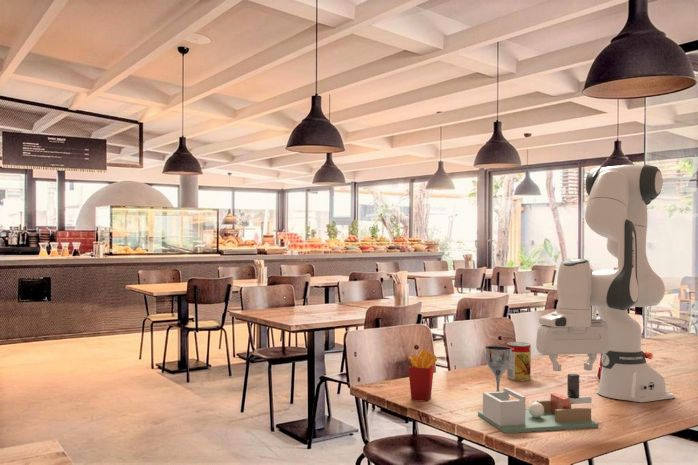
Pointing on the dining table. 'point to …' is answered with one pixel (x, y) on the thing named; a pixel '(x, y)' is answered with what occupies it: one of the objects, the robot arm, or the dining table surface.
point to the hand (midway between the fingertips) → (572, 370)
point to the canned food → (519, 361)
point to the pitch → (518, 419)
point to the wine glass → (498, 360)
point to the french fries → (421, 375)
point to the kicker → (569, 395)
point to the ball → (536, 409)
